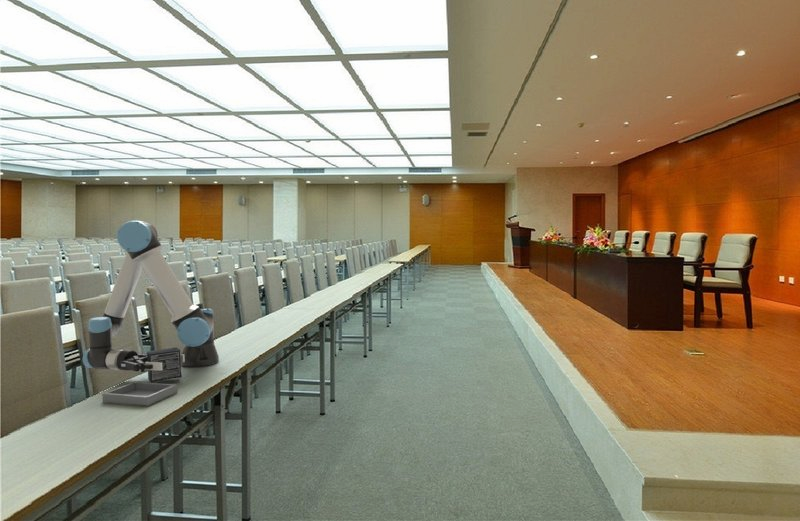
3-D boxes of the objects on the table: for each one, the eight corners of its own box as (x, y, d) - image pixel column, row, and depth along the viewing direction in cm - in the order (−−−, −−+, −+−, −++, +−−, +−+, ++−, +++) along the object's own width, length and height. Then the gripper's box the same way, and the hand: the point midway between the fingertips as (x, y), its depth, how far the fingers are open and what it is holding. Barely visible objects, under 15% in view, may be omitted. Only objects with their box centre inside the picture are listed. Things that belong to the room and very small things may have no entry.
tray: (134, 390, 178) (134, 381, 177) (177, 393, 174) (176, 384, 173) (102, 402, 164) (102, 393, 164) (147, 406, 160) (147, 397, 160)
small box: (178, 373, 193) (177, 346, 193) (182, 377, 188) (181, 349, 187) (147, 378, 187) (146, 350, 186) (150, 382, 182) (149, 353, 181)
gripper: (146, 361, 203) (193, 364, 198) (97, 378, 180) (150, 381, 175) (145, 343, 203) (193, 345, 197) (96, 357, 180) (149, 360, 174)
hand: (173, 362), depth 186 cm, fingers closed on small box, 11 cm apart
